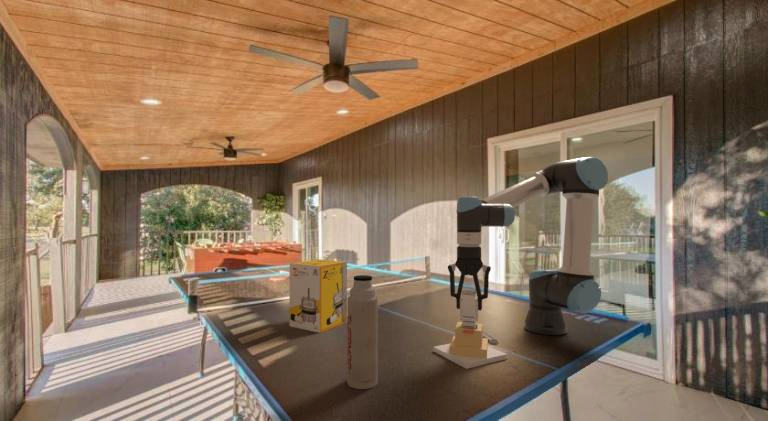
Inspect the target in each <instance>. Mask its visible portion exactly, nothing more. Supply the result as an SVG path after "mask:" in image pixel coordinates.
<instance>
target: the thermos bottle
mask: <svg viewBox="0 0 768 421" xmlns="http://www.w3.org/2000/svg"><path fill="white" fill-rule="evenodd" d="M372 280H373V276H372V275H369V274H368V275H365V274H364V275H363V274H362V275H354V276H353V285H352V287H351V288H350V289H349V296H347V350H346V351H347V352H346V354H347V360H346V361H347V374H346V375H347V377H346V378H347V381H346V382H347V385H348V386H349V387H350V388H353V389H357V390H366V389H371V388H374V387H376V386H377V385H378V381H379V378H378V377H379V375H378V374H379V372H378V370H379V366H378V365H379V363H378V362H379V361H378V360H379V357H378V346H379V344H378V343H379V338H378V337H379V326H378V325H379V317H378V316H379V314H378V312H379V310H378V308H379V302H378V301H379V298H378V296H376V294H377V293H376V288H374V286H373V281H372Z"/></svg>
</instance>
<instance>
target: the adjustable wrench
mask: <svg viewBox="0 0 768 421" xmlns="http://www.w3.org/2000/svg"><path fill="white" fill-rule="evenodd" d="M483 338H487V339H488V343H489V342H490V344H491V343H492V344H491V345H498V344H499V340H498V339H497V338H495V337H493V335H491V334H488V333H487V332H485V331H483Z"/></svg>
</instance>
